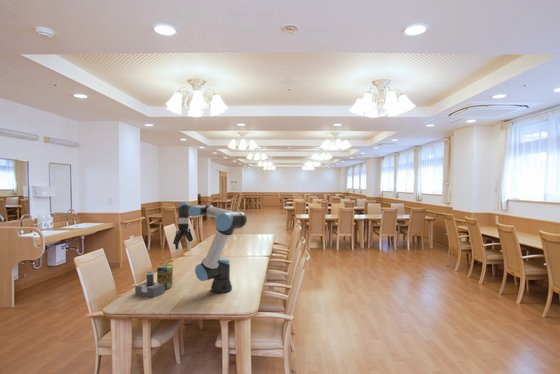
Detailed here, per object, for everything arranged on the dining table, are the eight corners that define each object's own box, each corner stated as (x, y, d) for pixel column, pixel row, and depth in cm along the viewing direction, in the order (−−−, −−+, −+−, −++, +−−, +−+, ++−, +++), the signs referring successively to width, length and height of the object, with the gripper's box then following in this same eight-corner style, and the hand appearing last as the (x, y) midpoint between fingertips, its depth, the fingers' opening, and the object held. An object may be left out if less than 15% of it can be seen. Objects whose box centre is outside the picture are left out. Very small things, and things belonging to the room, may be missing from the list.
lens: (152, 287, 234) (152, 270, 234) (154, 289, 230) (154, 272, 230) (145, 289, 231) (145, 272, 231) (147, 291, 227) (147, 273, 227)
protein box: (156, 289, 240) (157, 268, 240) (158, 283, 255) (158, 263, 255) (171, 288, 243) (172, 267, 243) (172, 282, 258) (173, 262, 258)
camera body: (165, 292, 233) (165, 283, 233) (153, 297, 222) (153, 287, 222) (147, 289, 239) (147, 280, 239) (134, 294, 227) (134, 285, 227)
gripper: (189, 221, 258) (189, 248, 258) (168, 224, 235) (168, 254, 235) (197, 221, 256) (197, 248, 256) (176, 225, 232) (176, 255, 232)
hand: (183, 251), depth 245 cm, fingers open, 13 cm apart
